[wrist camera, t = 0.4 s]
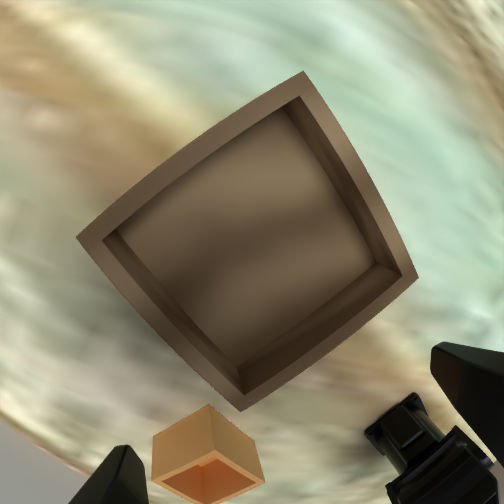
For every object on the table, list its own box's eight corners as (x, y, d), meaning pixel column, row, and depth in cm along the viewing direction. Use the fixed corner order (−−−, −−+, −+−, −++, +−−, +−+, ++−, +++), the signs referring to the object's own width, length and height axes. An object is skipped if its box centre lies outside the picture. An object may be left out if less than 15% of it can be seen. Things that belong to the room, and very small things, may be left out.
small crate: (253, 439, 25) (265, 482, 20) (200, 467, 25) (205, 509, 20) (208, 403, 23) (214, 449, 18) (153, 435, 23) (151, 480, 18)
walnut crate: (386, 260, 22) (418, 277, 19) (232, 376, 22) (240, 412, 19) (281, 88, 18) (303, 70, 14) (96, 223, 18) (75, 237, 14)
